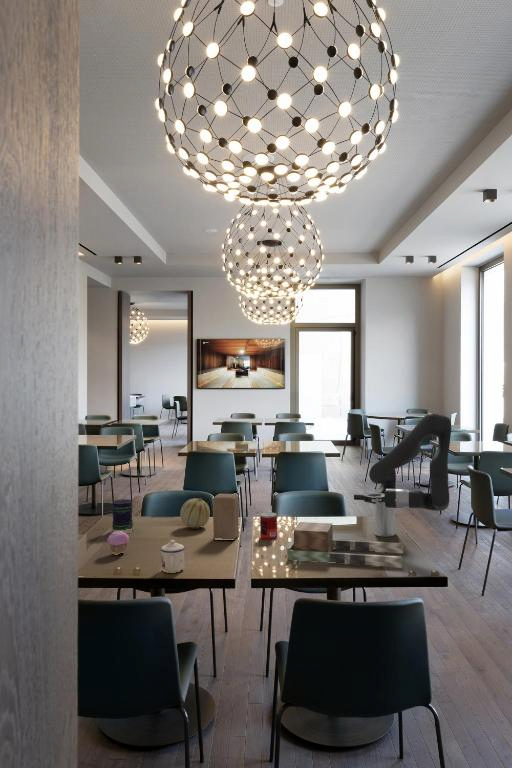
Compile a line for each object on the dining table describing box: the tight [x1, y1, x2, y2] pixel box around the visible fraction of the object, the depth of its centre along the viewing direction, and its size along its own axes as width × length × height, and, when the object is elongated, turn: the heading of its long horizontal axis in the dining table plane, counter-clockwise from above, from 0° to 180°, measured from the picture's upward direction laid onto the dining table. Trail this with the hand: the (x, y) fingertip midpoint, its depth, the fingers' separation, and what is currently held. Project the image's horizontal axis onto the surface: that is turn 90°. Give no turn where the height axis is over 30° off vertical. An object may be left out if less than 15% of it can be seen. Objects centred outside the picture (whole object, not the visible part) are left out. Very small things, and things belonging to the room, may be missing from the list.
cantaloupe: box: [180, 497, 211, 528], centre depth 299 cm, size 15×15×15 cm
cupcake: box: [107, 531, 130, 553], centre depth 256 cm, size 9×9×10 cm
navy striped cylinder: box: [111, 499, 134, 530], centre depth 294 cm, size 10×10×15 cm
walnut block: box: [293, 521, 334, 553], centre depth 250 cm, size 14×14×12 cm
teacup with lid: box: [160, 539, 185, 570], centre depth 232 cm, size 12×9×12 cm
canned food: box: [259, 512, 278, 541], centre depth 278 cm, size 8×8×11 cm
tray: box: [286, 538, 404, 569], centre depth 247 cm, size 45×20×5 cm, turn 75°
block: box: [212, 493, 240, 540], centre depth 278 cm, size 10×10×20 cm
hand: (353, 496), depth 246 cm, fingers closed
